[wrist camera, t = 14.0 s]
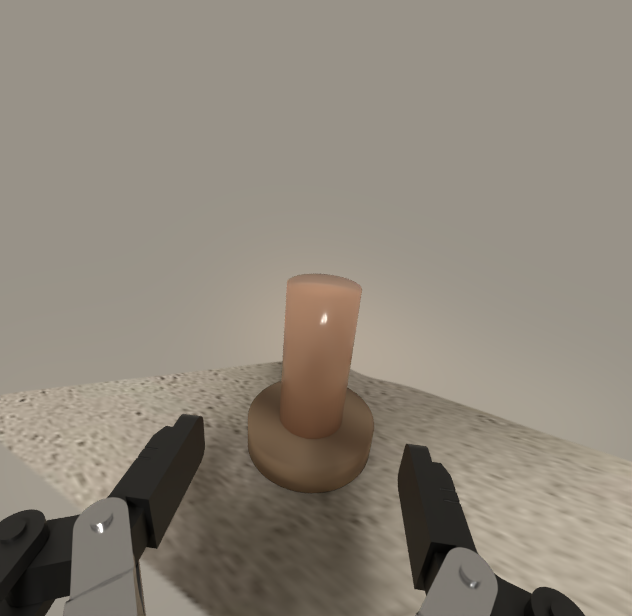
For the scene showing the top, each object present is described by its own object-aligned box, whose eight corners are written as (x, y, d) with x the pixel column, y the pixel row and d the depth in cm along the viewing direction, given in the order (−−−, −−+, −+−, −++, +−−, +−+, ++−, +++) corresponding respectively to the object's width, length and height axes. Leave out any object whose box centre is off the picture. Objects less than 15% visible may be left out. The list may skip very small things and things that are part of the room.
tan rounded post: (301, 388, 29) (311, 269, 25) (352, 410, 27) (373, 285, 23) (266, 419, 25) (271, 284, 21) (322, 449, 23) (341, 305, 18)
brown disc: (292, 386, 33) (294, 365, 32) (385, 427, 29) (390, 404, 28) (220, 450, 25) (219, 425, 24) (335, 520, 21) (340, 493, 20)
